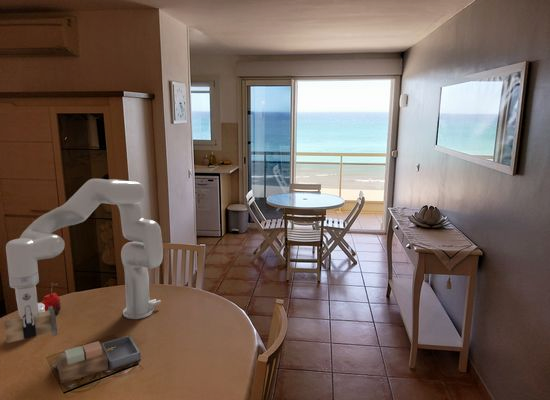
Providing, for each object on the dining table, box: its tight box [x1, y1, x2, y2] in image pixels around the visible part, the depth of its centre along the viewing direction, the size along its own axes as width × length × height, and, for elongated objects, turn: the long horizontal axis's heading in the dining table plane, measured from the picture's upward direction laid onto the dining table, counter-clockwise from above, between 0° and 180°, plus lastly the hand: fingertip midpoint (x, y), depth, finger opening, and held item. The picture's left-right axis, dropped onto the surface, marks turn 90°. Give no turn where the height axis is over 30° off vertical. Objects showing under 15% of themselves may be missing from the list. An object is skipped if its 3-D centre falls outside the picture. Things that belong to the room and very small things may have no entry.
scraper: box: [3, 306, 58, 344], centre depth 124 cm, size 13×9×6 cm
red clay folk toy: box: [41, 281, 62, 316], centre depth 167 cm, size 8×7×15 cm
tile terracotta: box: [82, 340, 102, 359], centre depth 135 cm, size 5×5×2 cm
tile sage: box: [64, 345, 85, 365], centre depth 132 cm, size 5×5×2 cm
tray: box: [100, 335, 141, 371], centre depth 141 cm, size 10×13×3 cm
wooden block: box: [55, 342, 109, 384], centre depth 134 cm, size 14×11×4 cm
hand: (29, 333), depth 124 cm, fingers closed on scraper, 3 cm apart
